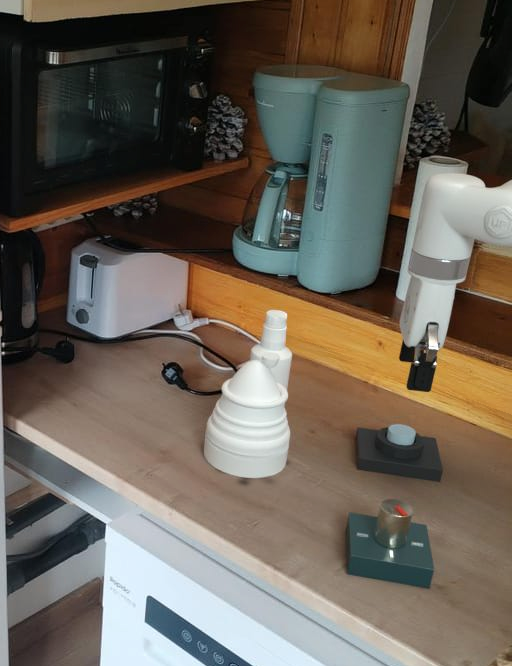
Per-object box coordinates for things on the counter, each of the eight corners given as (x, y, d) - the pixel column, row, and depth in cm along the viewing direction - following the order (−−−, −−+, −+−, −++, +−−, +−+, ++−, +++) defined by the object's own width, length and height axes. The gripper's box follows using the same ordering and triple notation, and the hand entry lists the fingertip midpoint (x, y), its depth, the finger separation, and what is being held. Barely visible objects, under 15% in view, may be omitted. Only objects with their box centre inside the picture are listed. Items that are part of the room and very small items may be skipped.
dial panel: (422, 542, 123) (426, 523, 122) (429, 588, 115) (434, 568, 113) (345, 530, 126) (349, 511, 124) (347, 574, 117) (351, 554, 116)
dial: (367, 532, 120) (374, 498, 118) (394, 528, 121) (402, 495, 119) (384, 550, 117) (391, 516, 114) (412, 546, 117) (420, 512, 115)
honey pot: (295, 448, 146) (311, 346, 138) (274, 486, 136) (290, 379, 128) (217, 428, 151) (229, 329, 143) (192, 464, 141) (203, 360, 133)
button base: (433, 449, 146) (438, 428, 144) (439, 482, 137) (445, 459, 135) (355, 438, 149) (359, 417, 147) (356, 469, 140) (361, 447, 138)
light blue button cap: (412, 435, 142) (414, 426, 142) (414, 448, 139) (416, 438, 138) (385, 432, 143) (387, 422, 143) (387, 444, 140) (389, 434, 139)
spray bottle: (257, 396, 162) (270, 302, 154) (291, 409, 158) (306, 313, 150) (236, 408, 158) (247, 313, 150) (270, 422, 153) (283, 324, 145)
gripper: (402, 243, 133) (381, 348, 141) (417, 283, 118) (392, 398, 126) (457, 248, 132) (432, 354, 139) (478, 289, 117) (450, 405, 124)
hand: (413, 375), depth 133 cm, fingers open, 9 cm apart
